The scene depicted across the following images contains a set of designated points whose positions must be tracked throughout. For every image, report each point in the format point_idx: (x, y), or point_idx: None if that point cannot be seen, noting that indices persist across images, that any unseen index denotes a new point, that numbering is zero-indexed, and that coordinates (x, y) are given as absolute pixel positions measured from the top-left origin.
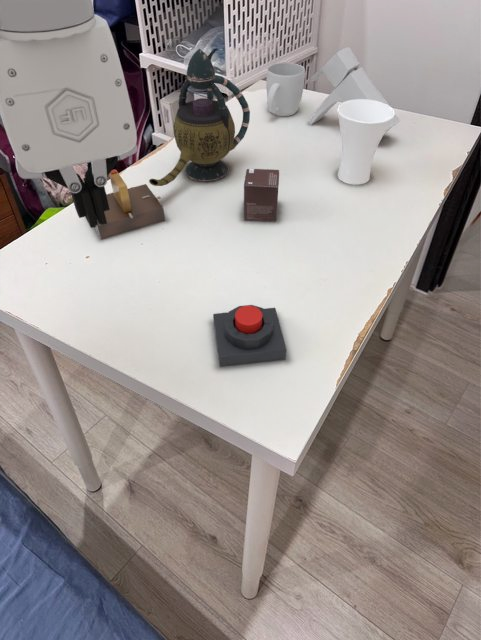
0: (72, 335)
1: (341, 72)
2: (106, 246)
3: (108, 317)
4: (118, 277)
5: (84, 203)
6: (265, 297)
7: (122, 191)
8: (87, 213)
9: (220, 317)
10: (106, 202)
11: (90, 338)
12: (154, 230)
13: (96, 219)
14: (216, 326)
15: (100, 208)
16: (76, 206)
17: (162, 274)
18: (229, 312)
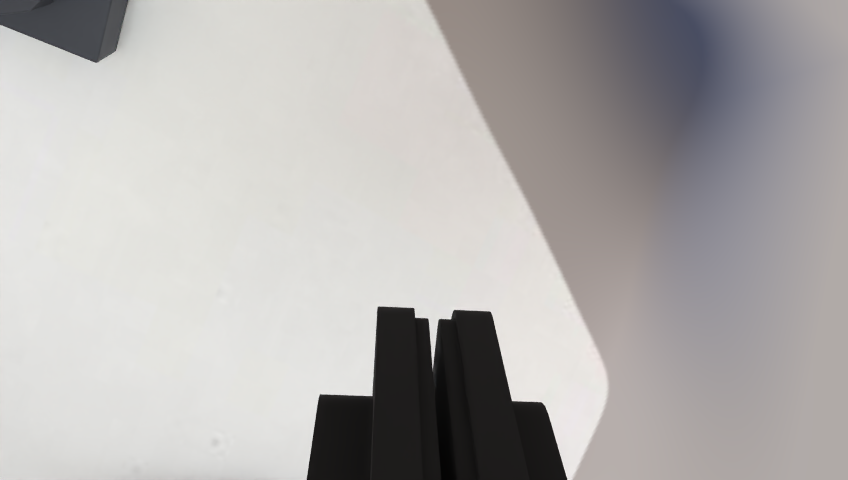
0: (512, 226)
1: None
2: None
3: (402, 238)
4: (321, 359)
5: (521, 459)
6: None
7: None
8: (507, 386)
9: (77, 33)
10: (325, 438)
11: (475, 192)
12: (162, 474)
13: (443, 343)
14: (104, 2)
15: (397, 391)
16: (563, 472)
17: (199, 315)
18: (28, 4)
